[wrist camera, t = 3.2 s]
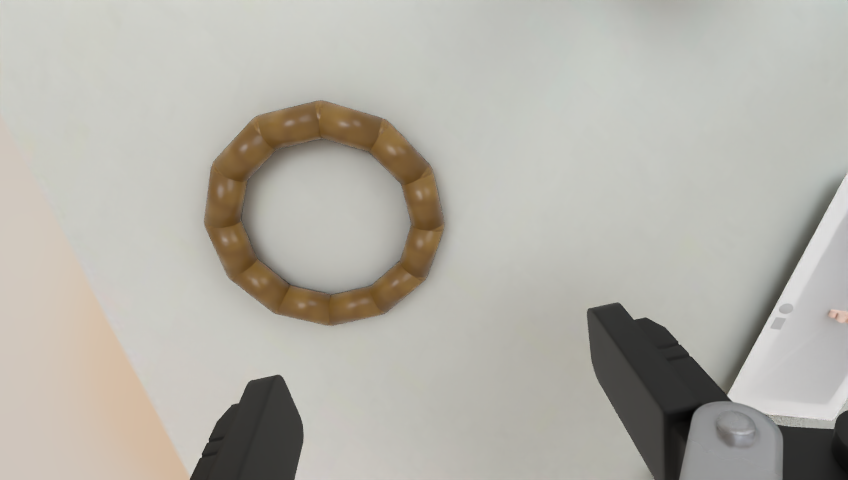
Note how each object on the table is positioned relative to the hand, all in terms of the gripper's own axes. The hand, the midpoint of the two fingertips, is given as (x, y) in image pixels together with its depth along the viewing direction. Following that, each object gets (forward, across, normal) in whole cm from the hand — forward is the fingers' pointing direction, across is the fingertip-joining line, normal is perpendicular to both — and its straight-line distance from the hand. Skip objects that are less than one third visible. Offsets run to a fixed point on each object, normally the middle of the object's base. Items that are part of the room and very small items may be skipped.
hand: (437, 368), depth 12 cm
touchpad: (+13, -22, +11) cm, 28 cm away
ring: (+12, +4, 0) cm, 13 cm away
